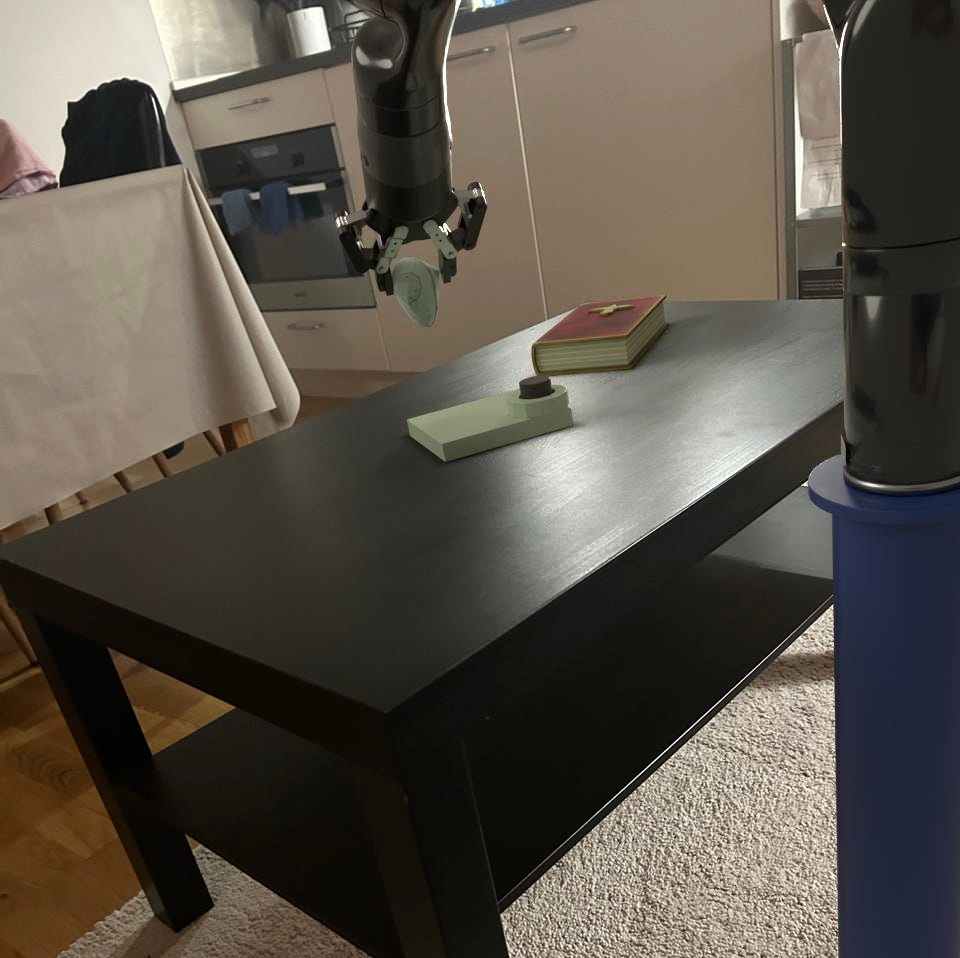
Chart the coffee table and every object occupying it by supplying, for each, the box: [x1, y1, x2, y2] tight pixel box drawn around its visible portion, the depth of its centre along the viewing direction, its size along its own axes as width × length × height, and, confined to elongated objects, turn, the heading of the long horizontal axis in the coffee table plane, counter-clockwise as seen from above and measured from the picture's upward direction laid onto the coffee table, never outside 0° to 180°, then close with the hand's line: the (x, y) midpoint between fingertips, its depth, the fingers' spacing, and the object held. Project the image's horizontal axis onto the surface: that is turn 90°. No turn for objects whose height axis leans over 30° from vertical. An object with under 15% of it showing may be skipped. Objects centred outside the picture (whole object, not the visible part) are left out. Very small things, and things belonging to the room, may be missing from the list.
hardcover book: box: [530, 294, 670, 377], centre depth 128 cm, size 12×21×4 cm, turn 159°
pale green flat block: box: [406, 384, 574, 463], centre depth 105 cm, size 14×12×4 cm
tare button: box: [518, 375, 553, 399], centre depth 102 cm, size 3×3×2 cm
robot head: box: [391, 257, 441, 328], centre depth 98 cm, size 8×4×7 cm, turn 159°
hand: (416, 281), depth 99 cm, fingers closed on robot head, 5 cm apart
